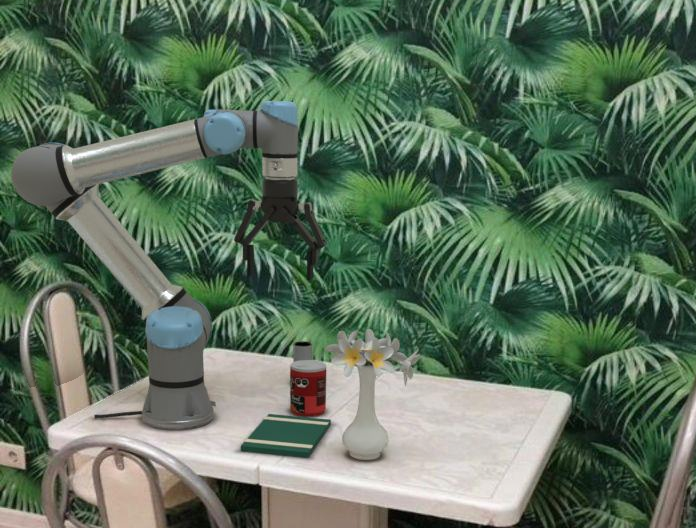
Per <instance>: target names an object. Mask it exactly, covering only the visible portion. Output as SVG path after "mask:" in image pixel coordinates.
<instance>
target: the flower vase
mask: <svg viewBox="0 0 696 528" xmlns="http://www.w3.org/2000/svg"><path fill="white" fill-rule="evenodd" d="M358 333H359V331H358V330H354V331H352V332H351V333H350V335H349V336H348V337H347V334H346V332H345V331H343V330H340V331H338V332H337V335H336V341H337V343H332V344H329V345H327V346H326V347H325V348H324V351H325V352H328V353H333V355H332V357H331V361H330V362H331V364H332V365H333V366H343V365H344V367H343V375H344V376H345V377H346V378H348V377H350V376H351V375H352V373H353V371H354V368H355V366H356V368H357V372H358V377H359V393H358V394H359V396H358V406H357V411H356V415H355V417H354V419H353V421H352V422H351V424H349V425H348V426H347V427H346V429H345V430H344V431H343V433H342V435H341V443H342V444H343V446H344V448H345V449H346V450H348V451H349V455H350V457H351V458H352V459H355V460H360V461H372V460H376V459H378V458H380V456H381V452H383V451H384V450H385V449H386V448H387V446H388V445H389V443H390V439H389V438H390V437H389V434H388V432H387V430H386V429H385V428H384V426H382V424H381V423H380V422H379V419H378V416H377V414H376V413H377V412H376V404H375V401H376V400H375V397H376V396H375V394H376V392H375V391H376V389H375V387H376V380H377V377H380V376H381V375H382V372H383V370H385V371H386V372H387V373H390V374H395V372H396V368H395V366H394V365H393V364H392V363H391V362H393V363H397V364H400V366H401V369H402V373H403V381H404V387H406V386H407V383H408V378H409V380H412V379H413V377H414V368H413V367H412V366H414V365H415V364H417V362H418V361H419V359H420V357H421V353H418V352H419V348H417V349H416V350H415V351H414V352H412V354H411V355H410V356H408V357H407V356H406V355H405V354H404V353H402V352H400V351H399V350H400V347H401V344H400V340H399V339H398V338H397V337H394V339H393V340H392V339H391V337H390V335H389V333H388V332H387V331H386V332H385V337H383V338H380V339H378V338H376V336H375V333H374V331H373V330H372V329H371V328H367V329H366V330H365V333H364V334H365V335H364V340H365V341H363V339H362V338H358V339H356V338H357V335H358Z"/></svg>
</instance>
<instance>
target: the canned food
mask: <svg viewBox="0 0 696 528" xmlns="http://www.w3.org/2000/svg"><path fill="white" fill-rule="evenodd" d="M289 393H290V394H289V409H290V411H291V413H292V414H293V415H294V416H297V417H308V418H313V417H318V416H322V415H323V414H324V413H325V411H326V408H327V364H326V363H325V362H323V361H320V360H316V359H312V360H300V361H295V362H293V361H292V362H291V363H290V366H289Z"/></svg>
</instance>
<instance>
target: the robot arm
mask: <svg viewBox="0 0 696 528" xmlns="http://www.w3.org/2000/svg"><path fill="white" fill-rule="evenodd" d="M298 116H299V115H298V106H297V105H296V104H295V102H294V101H285V100H263V102H261V107H260V110H259V109H257V110H243V109H242V110H241V109H240V110H239V109H223V108H217V109H207V110H206V111H205V112H204V114H203V116H202V117H199V118H195V119H190V120H186V121H182V122H178V123H174V124H169V125H166V126H161V127H157V128H153V129H149V130H146V131H141V132H137V133H133V134H129V135H124V136H119V137H116V138H112V139H107V140H104V141H100V142H95V143H92V144H87V145H82V146H79V147H74V148H73V147H71V146H69V145H67V144H63V143H60V142H46V143H41V144H40V145H38V146H33V147H30V148H27V149H24V150H23V151H21V152H20V153H19V154H18V155H17V156H16V157H15V159H14V161H13V163H12V166H11V170H10V176H11V182H12V185H13V188H14V189H15V191H16V192H17V194H18V196H20V197H21V199H23V200H24V201H25V202H27V203H29V204H32V205H35V206H38V207H45V208H46V209H47V210H48V211H49V213H50V214H51V215H52V216H53V217H54V218H55V219H56V220H57V221H58V220H59V221H64V222H67V223H68V224H69V225H70V226H71V227H72V229H73V230H74V231H76V232H75V233H77V234H78V236H79V237H80V238H81V240H82V241H84V242H85V244H86V245H87V246H88V247H89V248H90V249H91V251H92V252H93V253H94V254H95V255H96V256H97V258H98V259H99V260H100V262H101V263H102V264H103V265H104V266H105V267H106V269H108V271H109V272H110V274H112V276H113V277H114V278H115V279H116V280H117V281H118V283H119V284H120V285H121V286H122V287H123V288H124V289H125V291H126V292H127V293H128V295H129V296H131V298H132V299H133V300H134V301H135V303H136V304H137V305H138V306H139V308H141V320H142V321H143V322H144V323H145V328H144V329H145V337H146V349H147V350H146V351H147V365H148V366H147V369H148V389H147V391H146V392H147V393H146V396H145V399H144V402H143V406H142V410H137V411H136V410H135V411H126V412H125V411H124V412H116V413H115V412H114V413H106V414H105V413H104V414H94V416H93V417H94V419H110V418H117V417H118V418H119V417H128V416H129V417H130V416H138V415H141V416H142V418H141V419H142V422H143V423H144V424H146V425H148V426H149V427H153V428H155V429H161V430H176V431H177V430H188V429H195V428H199V427H202V426H205V425H207V424H210V422H212V421H213V420H214V417H215V415H214V414H215V413H214V407H216V401H214V400H211V399H210V395H209V393H208V390H207V388H206V385H205V369H204V351H205V348H206V346H207V344H208V342H209V341H210V339H211V336H212V334H213V333H212V331H213V322H212V317H211V314H210V312H209V310H208V309H207V307H206V306H205V305H204V304H203V303H202V302H200V301H199V300H197V299H195V298H193V297H192V296H191V295H190V293H189V292H188V291H187V290H186V289H185V288H184V287H183V286H182V285H176V284H172V282H170V280H169V279H168V278H167V277H166V275H165V274H164V273H163V272H162V271H161V269H160V268H159V267H158V266H157V264H155V262H154V261H153V260H152V258H150V256H149V255H148V254H147V253H146V251H145V250H144V249H143V248H142V247H141V245H140V244H139V243H138V242H137V240H136V239H135V238H134V236H132V235H131V233H130V232H129V231H128V230H127V228H126V226H124V225H123V224H122V222H121V221H120V220H119V219H118V218H117V217H116V215H115V214H114V213H113V212H112V210H111V209H110V208H109V207H108V205H107V204H106V203H105V202H104V201H103V200H102V199H101V197H100V195H99V193H100V191H99V190H100V184H105V183H109V182H113V181H117V180H120V179H126V178H130V177H134V176H138V175H142V174H145V173H146V174H147V173H150V172H154V171H157V170H161V169H167V168H170V167H174V166H179V165H183V164H186V163H191V162H195V161H199V160H203V159H206V158H212V157H216V156H221V155H230V154H234V153H236V152H237V151H239V150H240V149H261V168H262V169H261V172H262V174H261V175H262V176H263V177H264V178H263V179H262V186H261V187H262V193H261V194H262V195H261V196H262V198H261V201H260V200H256V199H255V198H252V199H250V200H248V201H247V208H246V212H245V214H244V217H243V218H242V221H241V223H240V225H239V226H238V229H237V231H236V234H235V236H234V238H233V241H234V243H237V244H240V245H241V246H242V259H243V261H246V276H247V277H252V276H254V275H255V245H254V244H251V243H252V242H253V241H254V239H255V238H256V237H257V236H258V235H259V234H260V232H261V231H262V230H263V228H264V227H266V226H267V224H268V223H269V222H271V223H272V224H276V223H280V224H287V223H289V224H290V225H291V226H292V227H293V228H294V229H295V231H296V232H297V233H298V234H299V236H300V237H301V238H302V239H303V241H304V242H305V243H306V245H307V247H309V249H307V250H306V281H309V282H311V281H312V280H313V279H314V266H316V265H317V264H318V262H319V250H320V249H323V248H324V247H326V246H327V241H326V238H325V236H324V233H323V232H322V229H321V227H320V225H319V223H318V221H317V219H316V217H315V214H314V210H313V203H312V202H311V201H308V202H304V203H299V201H298V196H299V195H298V192H299V191H298V190H299V189H298V180H297V179H296V178H297V177H298V175H299V170H298V168H299V167H298V163H299V161H298V150H299V149H298V148H299V147H298V144H299V143H298V142H299V119H298ZM259 209H261V210H262V212H263V215H262V216H261V218H260V219H259V221H258V222H257V223H256V224H255V225H254V227H252V229H251V230H250V231H249V233H247V230H248V229H249V227H250V224H251V222H252V220H253V218H254V216H255V213H256V211H258V210H259ZM298 211H301V213H302V214H304V216H305V219H306V222H307V223H308V226H309V227H310V230H311V232H309V230H308V229H307V228H306V227H305V225H304V224H303V223H302V221H301V219H300V218H299V216H298V215H297V214H298ZM246 233H247V235H246ZM311 233H312V234H313V236H314V237H313V236H312V235H311Z"/></svg>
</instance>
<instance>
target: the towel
mask: <svg viewBox="0 0 696 528" xmlns="http://www.w3.org/2000/svg"><path fill="white" fill-rule="evenodd" d="M331 425H332V420H331V419H330V418H329V419H327V418H318V417H304V416H298V415H288V414H287V415H286V414H285V415H284V414H273V413H268V414H267V415H266V416H265V417H264V418H263V420H262V421H261V422H260V423H259V424H258V425H257V427H256V428H255V429H254V430H253V431H252V432H251V433H250V435H248V437H247V438H245V439H244V440H243V443H242V444H241V445H240V452H247V453H256V454H267V455H276V456H285V457H296V458H306V459H309V458H310V456H311V455H312V453H313V452H314V451H315V450H316V447H318V445H319V443H320V441H321V440H322V439H323V437H324V435H325V434H326V433H327V431H328V430H329V428H330V426H331Z"/></svg>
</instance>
